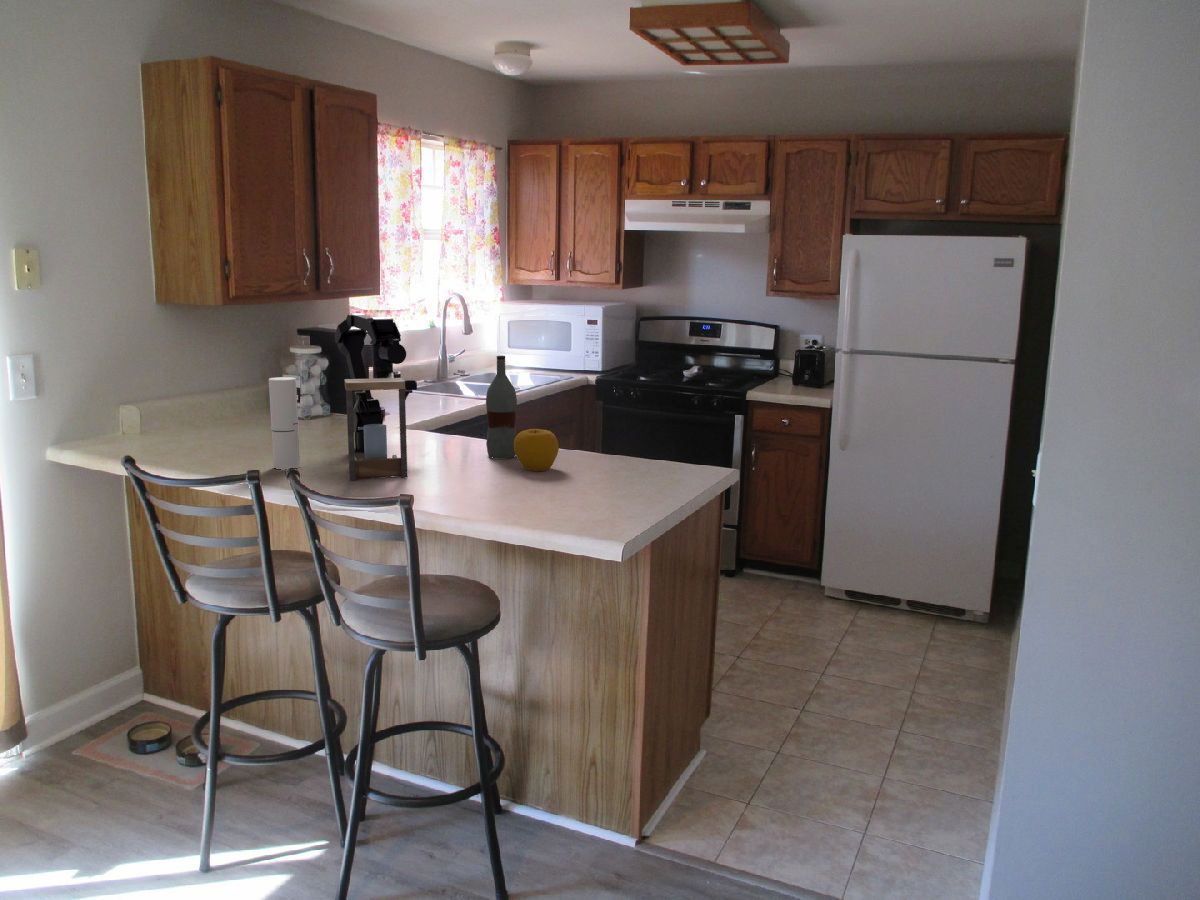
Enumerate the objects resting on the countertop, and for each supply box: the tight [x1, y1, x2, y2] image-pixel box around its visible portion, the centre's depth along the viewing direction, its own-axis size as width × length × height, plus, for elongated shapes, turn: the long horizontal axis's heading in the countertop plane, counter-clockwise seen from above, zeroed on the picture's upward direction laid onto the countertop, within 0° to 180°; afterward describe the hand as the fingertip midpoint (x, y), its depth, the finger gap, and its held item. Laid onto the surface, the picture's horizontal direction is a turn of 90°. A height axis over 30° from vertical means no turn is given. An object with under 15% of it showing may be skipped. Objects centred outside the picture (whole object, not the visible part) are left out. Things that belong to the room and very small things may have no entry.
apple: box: [514, 428, 559, 473], centre depth 270 cm, size 13×13×11 cm
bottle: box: [485, 355, 518, 459], centre depth 286 cm, size 9×9×30 cm
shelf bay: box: [344, 377, 408, 482], centre depth 261 cm, size 15×15×26 cm
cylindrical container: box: [268, 376, 301, 471], centre depth 268 cm, size 7×7×25 cm
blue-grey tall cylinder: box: [364, 423, 388, 459], centre depth 263 cm, size 6×6×12 cm
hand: (384, 414), depth 282 cm, fingers open, 9 cm apart
